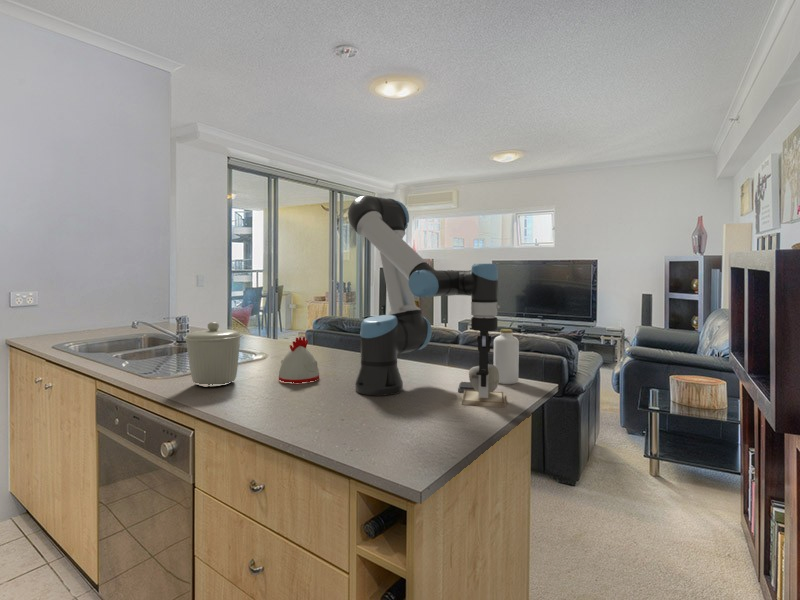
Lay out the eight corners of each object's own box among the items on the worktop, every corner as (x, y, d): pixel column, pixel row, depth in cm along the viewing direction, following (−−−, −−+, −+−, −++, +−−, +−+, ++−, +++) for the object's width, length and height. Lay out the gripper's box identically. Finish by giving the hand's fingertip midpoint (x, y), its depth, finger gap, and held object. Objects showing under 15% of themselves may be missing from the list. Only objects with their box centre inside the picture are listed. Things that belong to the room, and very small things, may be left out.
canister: (249, 385, 148) (248, 322, 147) (190, 394, 138) (188, 326, 137) (235, 375, 163) (234, 318, 162) (181, 382, 153) (179, 321, 152)
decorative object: (496, 398, 126) (497, 363, 126) (465, 395, 129) (466, 361, 129) (501, 390, 134) (501, 357, 134) (471, 388, 137) (472, 355, 137)
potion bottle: (519, 385, 148) (519, 331, 147) (493, 384, 150) (493, 331, 149) (517, 379, 156) (518, 328, 155) (493, 378, 158) (493, 328, 157)
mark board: (461, 404, 127) (461, 400, 127) (464, 393, 139) (464, 389, 139) (505, 406, 125) (505, 403, 125) (504, 395, 137) (504, 391, 137)
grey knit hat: (327, 378, 160) (326, 336, 159) (299, 386, 148) (298, 341, 147) (299, 373, 167) (298, 333, 166) (270, 381, 155) (269, 338, 155)
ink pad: (458, 392, 140) (458, 387, 140) (459, 385, 148) (459, 381, 148) (490, 393, 138) (490, 389, 138) (490, 387, 146) (490, 382, 146)
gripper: (498, 320, 119) (497, 404, 121) (497, 313, 140) (496, 384, 142) (469, 320, 121) (468, 402, 122) (472, 313, 142) (472, 383, 143)
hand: (483, 392), depth 132 cm, fingers closed on decorative object, 9 cm apart
